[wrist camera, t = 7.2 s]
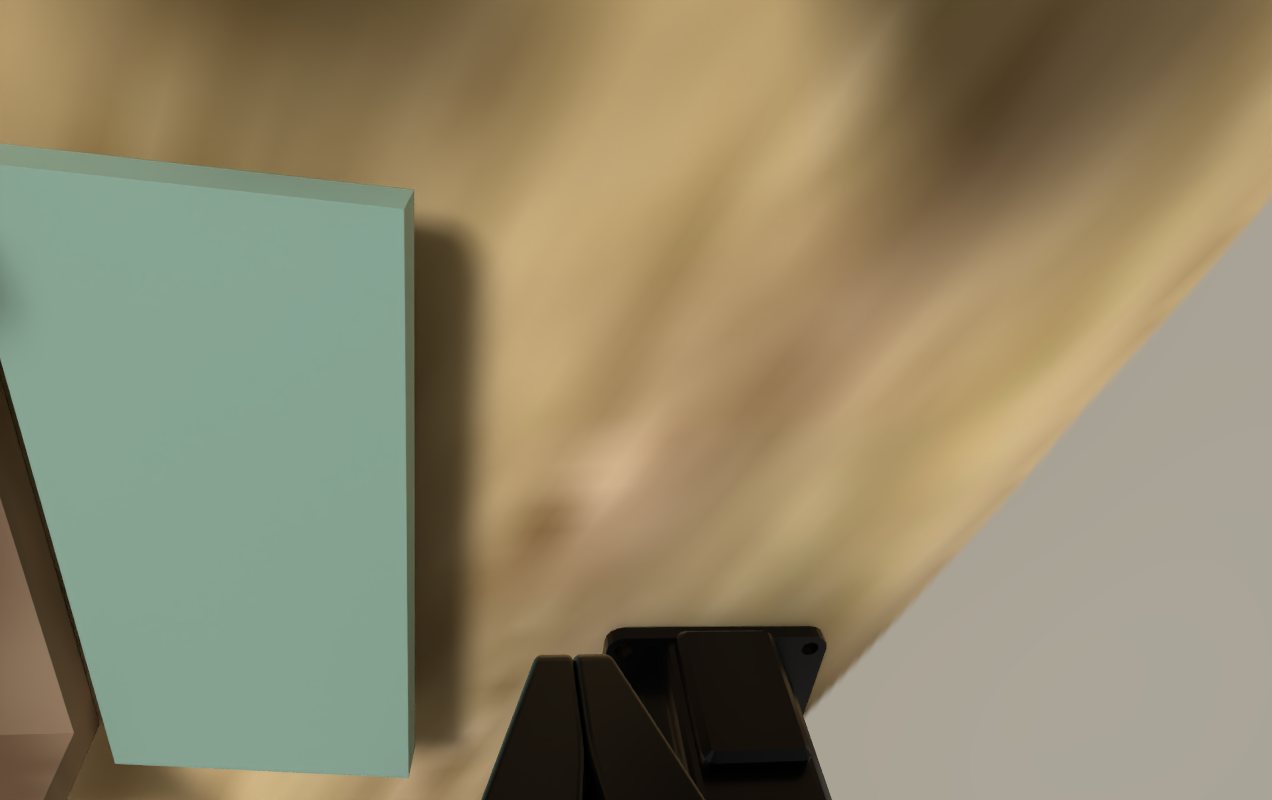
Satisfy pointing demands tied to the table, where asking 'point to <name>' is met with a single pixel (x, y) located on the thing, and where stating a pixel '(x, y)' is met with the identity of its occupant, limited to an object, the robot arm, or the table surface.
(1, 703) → the truck bed
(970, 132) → the table surface
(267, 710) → the tailgate
